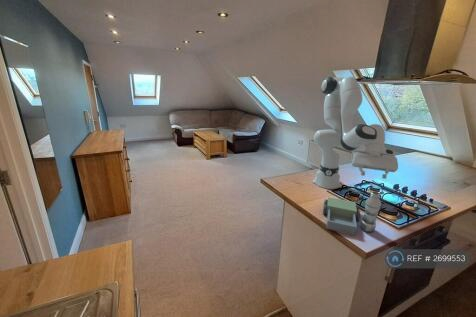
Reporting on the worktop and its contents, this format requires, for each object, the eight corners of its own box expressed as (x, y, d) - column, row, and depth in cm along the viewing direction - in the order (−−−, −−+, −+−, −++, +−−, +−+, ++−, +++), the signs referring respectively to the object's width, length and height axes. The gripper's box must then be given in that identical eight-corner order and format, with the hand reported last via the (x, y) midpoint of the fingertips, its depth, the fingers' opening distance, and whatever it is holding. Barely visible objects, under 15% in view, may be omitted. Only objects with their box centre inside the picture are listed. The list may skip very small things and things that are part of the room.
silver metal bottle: (358, 230, 107) (367, 194, 101) (360, 223, 113) (368, 188, 106) (374, 235, 104) (383, 198, 97) (375, 228, 109) (384, 192, 103)
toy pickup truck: (323, 205, 129) (325, 196, 127) (356, 211, 123) (358, 202, 121) (321, 227, 109) (323, 217, 107) (360, 236, 103) (363, 225, 101)
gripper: (353, 147, 118) (351, 170, 112) (399, 152, 110) (399, 177, 105) (351, 153, 123) (349, 175, 118) (395, 158, 116) (394, 182, 110)
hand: (373, 176), depth 111 cm, fingers open, 8 cm apart
